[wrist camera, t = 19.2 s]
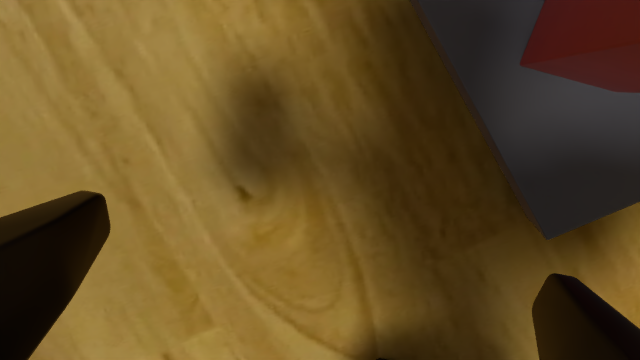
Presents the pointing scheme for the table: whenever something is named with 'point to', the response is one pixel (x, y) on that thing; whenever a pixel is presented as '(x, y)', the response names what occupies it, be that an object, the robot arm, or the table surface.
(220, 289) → the table surface
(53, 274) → the robot arm
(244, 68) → the table surface
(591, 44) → the small book
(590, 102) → the dark gray flat block
